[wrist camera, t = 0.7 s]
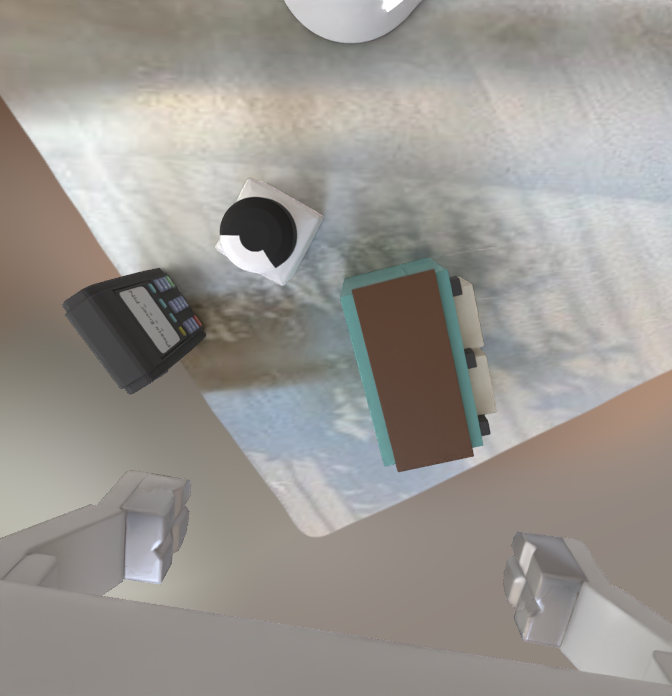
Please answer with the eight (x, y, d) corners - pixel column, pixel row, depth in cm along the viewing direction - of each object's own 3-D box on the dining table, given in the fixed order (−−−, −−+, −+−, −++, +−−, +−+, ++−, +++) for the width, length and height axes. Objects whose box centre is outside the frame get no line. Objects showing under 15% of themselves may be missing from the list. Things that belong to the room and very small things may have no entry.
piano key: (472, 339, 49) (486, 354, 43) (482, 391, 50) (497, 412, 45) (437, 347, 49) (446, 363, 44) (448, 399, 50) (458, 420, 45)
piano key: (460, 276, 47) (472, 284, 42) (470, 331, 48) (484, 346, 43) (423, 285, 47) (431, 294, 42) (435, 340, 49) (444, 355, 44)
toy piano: (435, 251, 51) (458, 263, 39) (466, 400, 55) (495, 451, 43) (342, 275, 52) (338, 294, 40) (380, 419, 56) (385, 475, 44)
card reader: (215, 334, 54) (162, 379, 40) (185, 352, 55) (123, 403, 40) (165, 262, 52) (91, 281, 38) (135, 282, 53) (52, 308, 39)
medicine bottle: (262, 180, 50) (233, 171, 38) (325, 216, 50) (315, 217, 39) (232, 244, 51) (195, 253, 40) (293, 277, 52) (274, 296, 41)
